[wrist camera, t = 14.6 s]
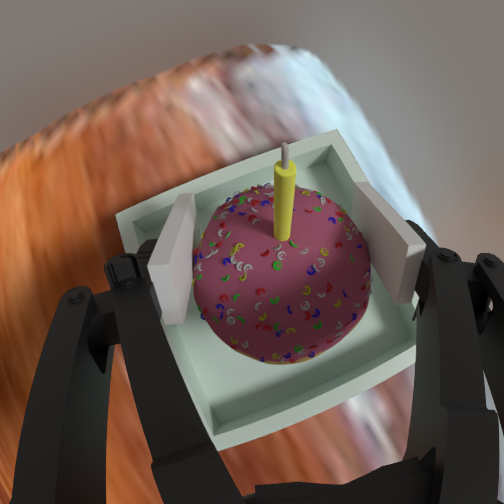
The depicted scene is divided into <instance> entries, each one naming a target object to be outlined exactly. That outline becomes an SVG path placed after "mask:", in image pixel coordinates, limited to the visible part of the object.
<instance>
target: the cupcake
mask: <svg viewBox="0 0 504 504" xmlns="http://www.w3.org/2000/svg"><path fill="white" fill-rule="evenodd" d="M296 170H297V168H296V165H295V163H294V162H293V161H291V160H289V147H288V144H287V143H285V142H284V143H282V144H281V160H279V161H277V162H276V163H275V165H274V185H271V184H270V183H267V184H265V185H264V186H262V185H260V184H258V185H257V187H253V186H252V187H251V189H245V190H244V191H243V192H241V193H240V191H239V190H237V191H235V192H234V193H233V195H234V197H232V198H231V197H228V198H227V199H226V202H225V203H224V204H223V205H219V206H218V207H217V208H216V211H215V212H214V214H213V216H212V218H211V220H210V222H209V224H208V226H207V228H206V230H205V232H203V233H202V238H201V240H200V243H199V245H198V248H197V249H195V251H194V275H193V278H194V280H193V282H192V286H193V285H194V290H193V294H194V299H195V302H196V304H197V307H198V310H199V311H200V313H201V315H200V317H201V319H203V320H206V321H207V323H208V325H209V326H210V328H211V329H212V331H213V332H214V333H215V334H216V335H217V337H219V338H220V339H221V340H222V341H223V342H224V343H225V344H226V345H228V346H229V347H230V348H232V349H233V350H235V351H236V352H238V353H240V354H242V355H245V356H247V357H249V358H252V359H254V360H257V361H259V362H263V363H266V364H273V365H287V364H297V363H301V362H305V361H308V360H310V359H313V358H315V357H317V356H319V355H320V354H322V353H323V352H325V351H326V350H328V349H330V348H332V347H333V346H335V345H336V344H337V343H339V342H340V341H341V340H342V339H343V338H344V337H345V336H347V335H348V334H349V333H350V332H351V331H352V330H353V329H354V328H355V327H356V326H357V324H358V323H359V322H360V321H361V319H362V318H363V316H364V314H365V312H366V310H367V307H368V303H369V297H370V294H371V293H372V290H370V289H371V283H372V282H373V280H374V278H373V276H372V275H371V261H370V257H369V252H368V251H369V250H370V248H367V244H366V242H365V240H364V238H363V235H362V232H360V231H359V229H358V228H357V226H356V225H355V223H354V222H353V221H352V219H351V218H350V217H349V216H348V215H347V212H346V211H345V210H344V209H343V208H342V206H341V204H339V206H338V205H337V204H336V203H335V202H333V201H332V200H330V199H329V198H327V197H325V196H324V195H322V194H321V193H320V192H317V191H312V190H311V189H305V188H301V187H299V186H298V185H297V184H295V181H296ZM297 186H298V187H297ZM236 192H237V193H238V194H237V193H236ZM235 194H237V195H235ZM228 199H229V200H228ZM371 277H372V279H371ZM202 316H203V317H204V318H203V317H202Z"/></svg>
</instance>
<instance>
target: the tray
mask: <svg viewBox="0 0 504 504" xmlns="http://www.w3.org/2000/svg"><path fill="white" fill-rule="evenodd" d="M288 147H289V160H291V161H293V162H294V163H295V165H296V168H297V170H296V181H295V184H297V185H298V186H299V187H301V188H305V189H311V190H312V191H317V192H320V193H321V194H322V195H324V196H325V197H327V198H329V199H330V200H332V201H333V202H335V203H336V204H337V205H338V206H339V204H341V206H342V208H343V209H344V210H345V211H346V212H347V215H348V216H349V217H350V218H351V215H352V201H353V184H354V182H368V183H369V181H368V180H367V178H366V176H365V174H364V172H363V171H362V169H361V167H360V166H359V164H358V162H357V161H356V159H355V157H354V156H353V154H352V152H351V151H350V149H349V147H348V146H347V144H346V142H345V141H344V139H343V138H342V136H341V134H340V133H339V131H338V130H337V129H335V130H332V131H329V132H325V133H322V134H319V135H316V136H313V137H310V138H307V139H303V140H300V141H297V142H294V143H291V144H288ZM279 160H281V147H280V148H277V149H274V150H271V151H268V152H265V153H262V154H260V155H257V156H254V157H251V158H249V159H246V160H243V161H240V162H238V163H235V164H233V165H230V166H227V167H225V168H222V169H219V170H217V171H214V172H212V173H209V174H207V175H204V176H202V177H199V178H197V179H194V180H192V181H190V182H187V183H185V184H182V185H180V186H178V187H175V188H173V189H170V190H168V191H166V192H164V193H161V194H159V195H157V196H154V197H152V198H150V199H148V200H145V201H143V202H141V203H139V204H137V205H134V206H132V207H130V208H128V209H126V210H124V211H121V212H119V213H117V214H115V216H116V220H117V223H118V227H119V231H120V235H121V238H122V242H123V245H124V249H125V252H126V253H134V254H137V251H138V249H139V247H140V245H142V244H143V243H144V242H145V241H146V240H149V239H159V237H160V234H161V232H162V230H163V228H164V225H165V223H166V221H167V219H168V216H169V214H170V212H171V210H172V208H173V206H174V203H175V201H176V199H177V197H178V195H179V194H183V193H192V192H193V193H194V200H195V206H196V213H197V219H198V225H199V231H200V238H202V233H203V232H205V230H206V228H207V226H208V224H209V222H210V220H211V218H212V216H213V214H214V212H215V211H216V208H217V207H218V206H219V205H223V204H224V203H225V202H226V199H227V198H228V197H231V198H232V197H234V195H233V193H234V192H235V191H237V190H239V191H240V193H241V192H243V191H244V190H245V189H251V187H252V186H253V187H257V185H258V184H260V185H262V186H264V185H265V184H267V183H270V184H271V185H274V165H275V163H276V162H277V161H279ZM369 184H370V183H369ZM298 186H297V187H298ZM236 193H237V192H236ZM237 194H238V193H237ZM237 194H235V195H237ZM228 200H229V199H228ZM371 275H372V276H373V278H374V280H373V282H372V283H371V289H370V290H372V293H371V294H370V297H369V303H368V307H367V310H366V312H365V314H364V316H363V318H362V319H361V321H360V322H359V323H358V324H357V326H356V327H355V328H354V329H353V330H352V331H351V332H350V333H349V334H348V335H347V336H345V337H344V338H343V339H342V340H341V341H340V342H339V343H337V344H336V345H335V346H333V347H332V348H330V349H328V350H326V351H325V352H323V353H322V354H320V355H319V356H317V357H315V358H313V359H310V360H308V361H305V362H301V363H297V364H287V365H273V364H266V363H263V362H259V361H257V360H254V359H252V358H249V357H247V356H245V355H242V354H240V353H238V352H236V351H235V350H233V349H232V348H230V347H229V346H228V345H226V344H225V343H224V342H223V341H222V340H221V339H220V338H219V337H217V335H216V334H215V333H214V332H213V331H212V329H211V328H210V326H209V325H208V323H207V321H206V320H203V319H201V317H200V315H201V313H200V311H199V310H198V307H197V304H196V302H195V299H194V294H193V290H194V285H193V286H192V285H191V290H190V295H189V301H188V306H187V311H186V317H185V322H184V324H174V325H165V323H164V320H163V317H162V315H161V319H160V321H161V324H162V327H163V330H164V332H165V335H166V337H167V340H168V343H169V345H170V348H171V350H172V353H173V355H174V358H175V360H176V363H177V365H178V367H179V370H180V372H181V375H182V377H183V379H184V382H185V384H186V386H187V389H188V391H189V393H190V396H191V398H192V400H193V402H194V404H195V407H196V409H197V411H198V413H199V415H200V418H201V420H202V422H203V424H204V426H205V428H206V430H207V432H208V434H209V436H210V438H211V440H212V442H213V443H214V445H215V447H216V449H217V451H220V450H223V449H226V448H229V447H233V446H236V445H239V444H242V443H245V442H248V441H250V440H253V439H256V438H259V437H262V436H264V435H267V434H270V433H272V432H275V431H278V430H280V429H283V428H285V427H288V426H290V425H293V424H295V423H298V422H300V421H302V420H305V419H307V418H309V417H312V416H314V415H316V414H318V413H321V412H323V411H325V410H327V409H329V408H331V407H334V406H336V405H338V404H340V403H342V402H344V401H346V400H348V399H350V398H352V397H354V396H356V395H358V394H360V393H362V392H364V391H366V390H368V389H369V388H371V387H373V386H375V385H377V384H379V383H381V382H382V381H384V380H386V379H388V378H390V377H391V376H393V375H395V374H396V373H398V372H400V371H402V370H403V369H405V368H407V367H408V366H410V365H412V364H413V363H415V361H416V318H415V321H412V319H413V316H414V312H415V309H416V306H417V303H418V299H419V296H418V295H417V293H416V292H414V295H413V299H412V302H411V303H406V304H399V305H395V304H394V302H393V300H392V298H391V296H390V295H389V293H388V291H387V289H386V287H385V286H384V284H383V282H382V280H381V279H380V277H379V275H378V273H377V272H376V270H375V268H374V266H373V265H372V263H371ZM371 279H372V277H371ZM193 280H194V278H193ZM193 280H192V282H193ZM202 317H203V316H202ZM203 318H204V317H203Z"/></svg>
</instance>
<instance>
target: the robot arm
mask: <svg viewBox="0 0 504 504" xmlns="http://www.w3.org/2000/svg"><path fill="white" fill-rule="evenodd" d="M351 219H352V221H353V222H354V223H355V225H356V226H357V228H358V229H359V231H360V232H362V235H363V238H364V240H365V242H366V244H367V248H370V250H369V251H368V252H369V257H370V261H371V263H372V265H373V266H374V268H375V270H376V272H377V273H378V275H379V277H380V279H381V280H382V282H383V284H384V286H385V287H386V289H387V291H388V293H389V295H390V296H391V298H392V300H393V302H394V304H395V305H399V304H406V303H411V302H412V299H413V295H414V292H416V293H417V295H418V296H419V299H418V303H417V306H416V309H415V312H414V316H413V319H412V321H415V318H416V361H415V378H414V391H413V402H412V412H411V420H410V428H409V436H408V442H407V448H406V452H405V455H404V458H403V460H402V461H400V462H397V463H393V464H389V465H386V466H382V467H380V468H378V469H376V470H374V471H372V472H370V473H368V474H366V475H364V476H362V477H360V478H357V479H355V480H353V481H351V482H349V483H346V484H342V485H333V484H318V483H306V482H290V483H279V484H266V485H255V493H253V494H249V495H246V496H243V497H242V496H241V494H240V492H239V490H238V488H237V487H236V485H235V483H234V481H233V479H232V478H231V476H230V474H229V472H228V470H227V468H226V466H225V464H224V463H223V461H222V459H221V457H220V455H219V453H218V451H217V449H216V447H215V445H214V443H213V442H212V440H211V438H210V436H209V434H208V432H207V430H206V428H205V426H204V424H203V422H202V420H201V418H200V415H199V413H198V411H197V409H196V407H195V404H194V402H193V400H192V398H191V396H190V393H189V391H188V389H187V386H186V384H185V382H184V379H183V377H182V375H181V372H180V370H179V367H178V365H177V363H176V360H175V358H174V355H173V353H172V350H171V348H170V345H169V343H168V340H167V337H166V335H165V332H164V330H163V327H162V324H161V321H160V319H161V315H162V317H163V320H164V323H165V325H174V324H184V322H185V317H186V311H187V306H188V301H189V295H190V290H191V285H192V280H193V275H194V251H195V249H197V248H198V245H199V243H200V240H201V238H200V231H199V225H198V219H197V213H196V206H195V200H194V193H193V192H192V193H183V194H179V195H178V197H177V199H176V201H175V203H174V206H173V208H172V210H171V212H170V214H169V216H168V219H167V221H166V223H165V225H164V228H163V230H162V232H161V234H160V237H159V239H149V240H146V241H145V242H144V243H143V244H142V245H140V247H139V249H138V251H137V254H134V253H123V254H119V255H117V256H114V257H112V258H111V259H109V260H108V261H107V262H106V264H105V265H104V271H105V273H106V276H107V279H108V282H109V284H110V287H111V290H109V291H106V292H103V293H99V294H96V295H93V294H92V291H91V290H90V288H89V287H86V286H78V287H74V288H72V289H70V290H68V291H67V292H66V293H65V294H64V295H63V296H62V298H61V299H60V302H59V304H58V307H57V309H56V312H55V315H54V318H53V320H52V323H51V326H50V329H49V332H48V335H47V338H46V341H45V344H44V347H43V350H42V353H41V356H40V359H39V363H38V366H37V370H36V373H35V377H34V380H33V384H32V388H31V391H30V395H29V399H28V403H27V408H26V412H25V416H24V421H23V426H22V431H21V436H20V441H19V447H18V453H17V459H16V466H15V473H14V482H13V491H12V498H11V501H10V503H9V504H106V439H107V419H108V404H109V391H110V381H111V371H112V362H113V353H114V345H115V344H119V343H121V347H122V351H123V356H124V360H125V365H126V369H127V373H128V377H129V381H130V385H131V389H132V393H133V396H134V400H135V404H136V407H137V411H138V414H139V418H140V421H141V424H142V428H143V431H144V434H145V437H146V440H147V443H148V446H149V449H150V452H151V455H152V459H153V462H152V464H151V469H152V473H153V476H154V479H155V482H156V484H157V487H158V490H159V492H160V495H161V497H162V500H163V502H164V504H504V503H502V502H501V501H499V500H497V497H498V482H499V422H498V417H499V420H500V424H501V427H502V431H503V435H504V263H503V262H502V261H501V260H500V259H499V258H497V257H496V256H495V255H492V254H490V253H480V254H479V255H478V256H477V259H476V262H475V263H469V262H462V261H461V258H460V256H459V255H458V254H457V253H456V252H454V251H452V250H450V249H446V248H439V247H438V246H437V245H436V244H435V242H434V241H433V240H432V239H431V238H430V237H429V236H428V235H427V234H426V233H425V232H423V230H422V228H421V227H420V226H419V225H417V224H416V223H414V222H412V221H410V220H404V219H403V218H402V217H401V216H400V215H399V214H398V213H397V212H396V211H395V209H394V208H393V207H392V206H391V205H390V204H389V203H388V202H387V201H386V200H385V199H384V198H383V197H382V196H381V195H380V194H379V193H378V192H377V191H376V190H375V189H374V188H373V187H372V186H371V185H370V184H369V183H368V182H354V184H353V201H352V215H351ZM491 300H492V302H493V309H492V311H491V310H490V308H489V305H490V302H491ZM483 371H484V373H485V376H486V379H487V382H488V385H489V388H490V391H491V394H492V397H493V400H494V403H495V406H496V410H497V413H498V416H497V413H496V412H495V410H488V409H487V407H486V397H485V385H484V375H483Z"/></svg>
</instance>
